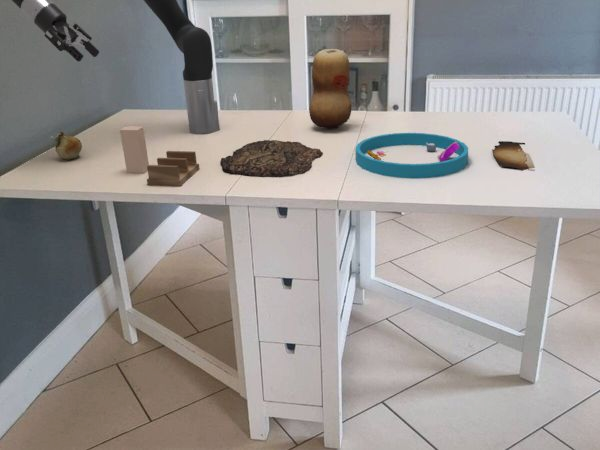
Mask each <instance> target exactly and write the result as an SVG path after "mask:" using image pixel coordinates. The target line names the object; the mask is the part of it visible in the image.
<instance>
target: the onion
mask: <svg viewBox="0 0 600 450" xmlns="http://www.w3.org/2000/svg"><path fill="white" fill-rule="evenodd" d="M50 140H52V141H53V142H56V144H55V152H56V155H58V157H59V158H61V159H62V160H66V161H67V160H68V161H69V160H73V159H76V158H77V157H78V156H79V155H80V153H81V151H82V149H83V144H82V142H81V140H80V139H79V138H77V137H75V136H72V135H68V134H66V132H64V131H60V132H59V133H57V134H56V136H53V135H51V136H50Z"/></svg>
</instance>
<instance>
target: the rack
mask: <svg viewBox="0 0 600 450" xmlns="http://www.w3.org/2000/svg"><path fill="white" fill-rule="evenodd" d="M165 153H166V157H157V159H156V162H157V163H156V164H149V165H148V166H147V170H148V171H147V176H148V178H146V183H147V186H162V187H163V186H165V187H167V186H168V187H182V186H183V185H184V184H185V183H186V182H187V181H188V180H189V179H190V178H191V177H193V175H194V174H195V173H197V172H198V171H199V170H200V164H199V163H197V155H196V154H197V153H196V151H190V150H189V151H185V150H183V151H182V150H167V151H166V152H165Z"/></svg>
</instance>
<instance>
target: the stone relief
mask: <svg viewBox="0 0 600 450" xmlns="http://www.w3.org/2000/svg"><path fill="white" fill-rule="evenodd" d="M323 155H324V153H323V151H322V150H321V149H320V148H313V147H309V146H306V145H305V144H303V143H301V142H299V141H291V140H290V141H289V140H287V141H281V140H277V139H274V140H272V139H271V140H270V139H264V140H258V141H257V140H256V141H253V142H249V143H246V144H245V145H243V146H242V147H240V148H238V149H235V150H234V151H232V155H228V156H226V157H221V158H220V161H219V162H220V163H219V164H220V165H219V166H221V170H222V172H223V173H225V174H228V175H235V176H243V177H253V178H286V177H294V176H298V175H303V174H305V173H307V172H309V171H310V170H311V169H312V167H313V165H312V164H313V162H314V161H315V160H317V159H321V158H322V157H323Z"/></svg>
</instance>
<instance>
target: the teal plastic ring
mask: <svg viewBox="0 0 600 450" xmlns="http://www.w3.org/2000/svg"><path fill="white" fill-rule="evenodd" d="M393 146H423V147H426V150H427V151H428V152H431V153H432V152H435V151H436V149H443V151H442V152H440V154H439V155H437V159H438V160H439V161H436V162H431V163H429V162H428V163H400V162H392V161H391V162H390V161H386V160H385V159H383V158H380V157H385V156H387V153H388V152H389V151H383V150H382V151H380V150H379V151H378V150H377V149H382V148H385V147H386V148H387V147H393ZM373 150H377V151H376V154H375V153H373ZM366 153H367V155H368V156H367V155H366ZM454 154H456V155H457V156H456V157H453V158H451V159H449V158H450V157H452V155H454ZM379 156H380V157H379ZM468 159H469V146H467V144H465V143H464V142H462V141H460V140H458V139H456V138H452V137H450V136H446V135H441V134H435V133H434V134H433V133H425V132H396V133H394V132H393V133H385V134H380V135H376V136H371V137H369V138H366V139H363V140H361V141H360V142H359V143H357V145H356V147H355V162H356V165H357V166H358V167H360V168H361V169H362V170H365V171H368V172H369V173H373V174H377V175H380V176H384V177H393V178H397V179H398V178H399V179H400V178H401V179H429V178H437V177H444V176H447V175H451V174H454V173H457V172H460V171H462V170H464V168H465V167H466V166H467V165H468ZM384 160H385V161H384Z"/></svg>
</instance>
